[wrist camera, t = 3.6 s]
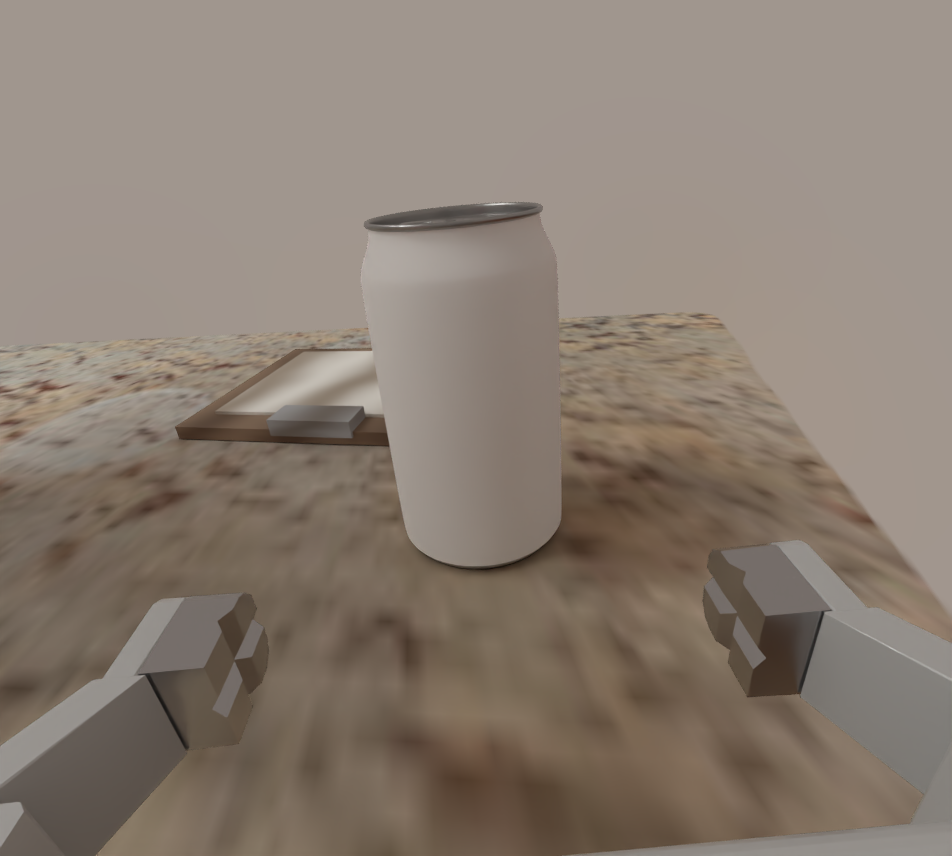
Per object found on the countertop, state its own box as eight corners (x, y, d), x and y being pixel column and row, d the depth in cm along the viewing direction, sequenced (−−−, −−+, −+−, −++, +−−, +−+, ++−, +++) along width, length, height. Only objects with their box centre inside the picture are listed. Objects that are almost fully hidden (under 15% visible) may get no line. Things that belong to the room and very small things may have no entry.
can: (570, 573, 19) (567, 213, 14) (392, 578, 19) (321, 234, 14) (555, 476, 25) (549, 196, 19) (418, 482, 25) (374, 212, 20)
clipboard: (177, 440, 32) (168, 417, 31) (297, 358, 44) (293, 341, 43) (468, 450, 28) (465, 424, 27) (512, 356, 40) (510, 337, 39)
